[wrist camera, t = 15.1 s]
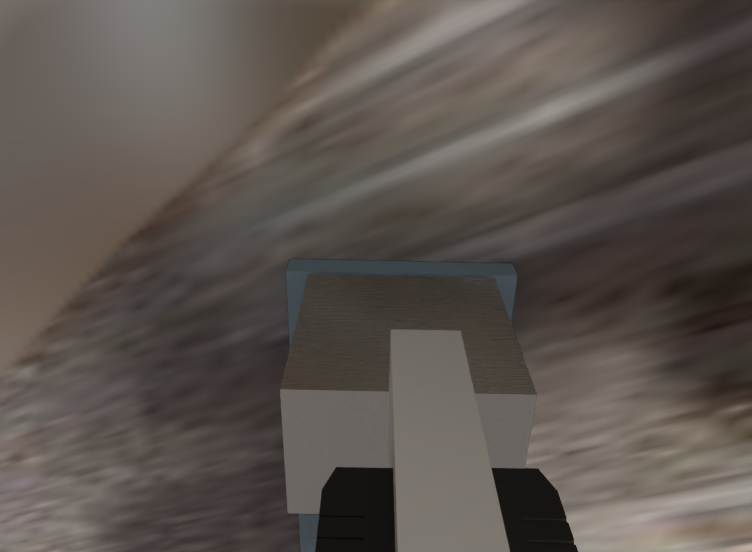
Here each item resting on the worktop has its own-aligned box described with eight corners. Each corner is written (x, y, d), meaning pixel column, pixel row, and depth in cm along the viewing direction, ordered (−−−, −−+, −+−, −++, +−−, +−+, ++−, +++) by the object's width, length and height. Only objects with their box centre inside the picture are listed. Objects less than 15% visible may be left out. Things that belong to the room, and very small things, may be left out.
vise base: (512, 263, 33) (568, 395, 23) (474, 558, 44) (502, 740, 33) (289, 258, 33) (247, 388, 23) (304, 554, 44) (279, 735, 33)
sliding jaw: (495, 277, 32) (537, 394, 23) (482, 389, 35) (514, 528, 26) (308, 274, 32) (279, 389, 23) (312, 385, 35) (288, 523, 26)
